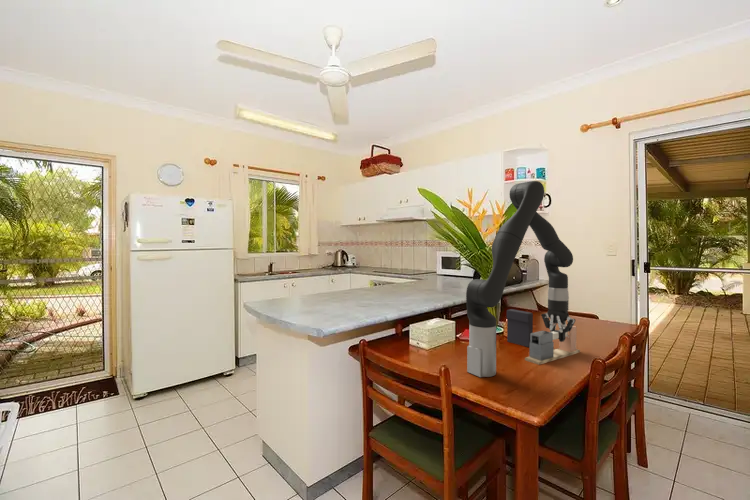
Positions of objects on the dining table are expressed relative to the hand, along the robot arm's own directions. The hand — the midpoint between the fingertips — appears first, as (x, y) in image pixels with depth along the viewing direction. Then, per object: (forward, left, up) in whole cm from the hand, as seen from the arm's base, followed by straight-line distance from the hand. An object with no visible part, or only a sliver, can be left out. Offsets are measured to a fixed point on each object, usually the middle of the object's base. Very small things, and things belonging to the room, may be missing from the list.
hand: (557, 340), depth 144 cm
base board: (-3, 0, -6) cm, 7 cm away
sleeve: (-11, 0, -6) cm, 12 cm away
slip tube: (-3, 0, +1) cm, 3 cm away
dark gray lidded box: (0, +18, -6) cm, 19 cm away
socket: (+7, 0, -6) cm, 9 cm away
